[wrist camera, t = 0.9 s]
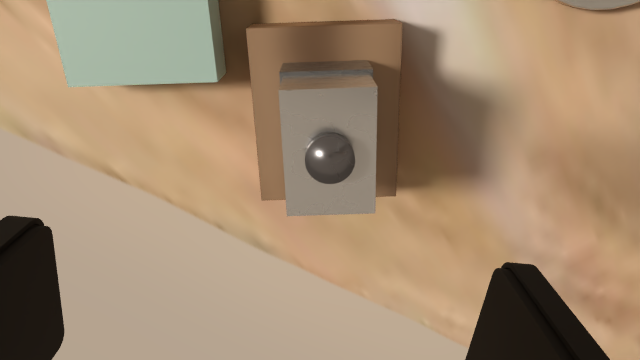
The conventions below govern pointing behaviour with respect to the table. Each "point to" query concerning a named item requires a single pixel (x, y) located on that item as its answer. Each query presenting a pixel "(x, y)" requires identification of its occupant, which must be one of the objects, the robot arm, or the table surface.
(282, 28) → the stand walnut
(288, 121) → the block
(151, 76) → the stand teal
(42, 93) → the table surface
